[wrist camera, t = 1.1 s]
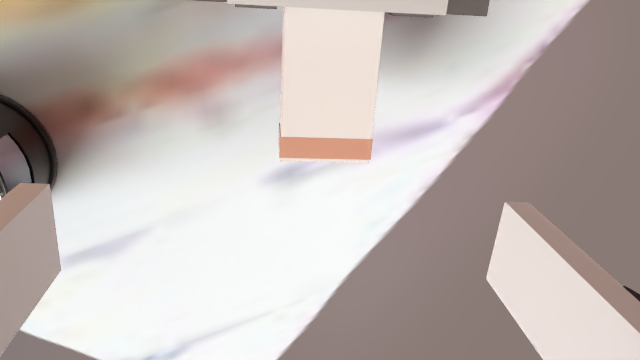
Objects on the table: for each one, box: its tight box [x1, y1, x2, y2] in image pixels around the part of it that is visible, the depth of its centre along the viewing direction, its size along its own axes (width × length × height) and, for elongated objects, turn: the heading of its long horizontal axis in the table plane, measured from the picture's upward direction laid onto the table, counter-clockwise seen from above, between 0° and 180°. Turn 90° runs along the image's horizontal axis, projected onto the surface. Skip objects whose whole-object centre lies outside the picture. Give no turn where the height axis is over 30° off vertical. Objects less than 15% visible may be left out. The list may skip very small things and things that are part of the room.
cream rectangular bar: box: [279, 7, 385, 163], centre depth 26 cm, size 16×5×3 cm, turn 177°
